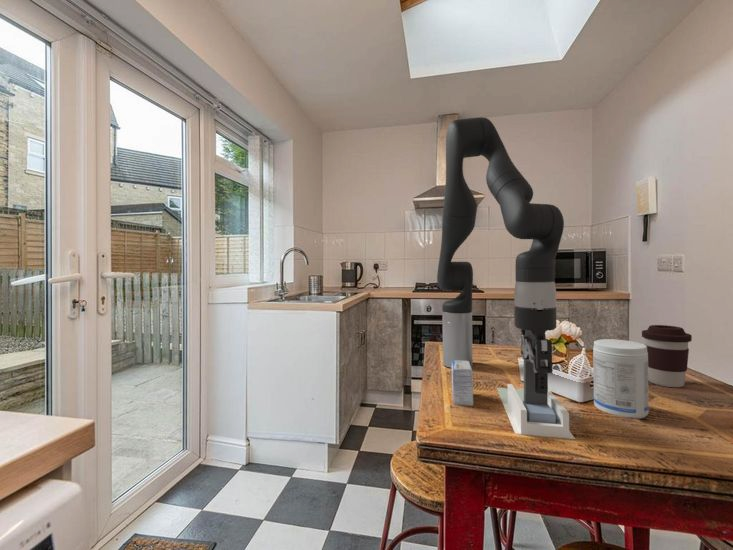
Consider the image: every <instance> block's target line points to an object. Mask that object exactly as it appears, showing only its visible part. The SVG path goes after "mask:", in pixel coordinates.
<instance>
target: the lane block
mask: <svg viewBox="0 0 733 550" xmlns="http://www.w3.org/2000/svg"><path fill="white" fill-rule="evenodd" d="M540 366H544V363H542V362H540ZM523 389H524V401H523V404H524V406H525V408H526V410H527V422H539V423H551V424H556V418H555V413H554V412H553V411H552V409H551V408H550V406H549V405H548V399H547V393H546V394H540V393H536V392H535V391H534V371H533V363H532V362H530V360H529V359H524V360H523Z"/></svg>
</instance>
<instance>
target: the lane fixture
mask: <svg viewBox="0 0 733 550" xmlns="http://www.w3.org/2000/svg"><path fill="white" fill-rule="evenodd" d="M496 390H497V393H498V395H499V398H500V400H501V402H502V405H503V407H504V410H505V413H506V414H507V417H508V419H509V422H510V425H511V427H512V429H513V432H514V434H515V435H524V436H525V435H526V436H535V437H544V438H545V437H547V438H548V437H549V438H558V439H568V440H576V437H575V436H574V435H573V434H572V433H571V431H570V413H569V411H568V410H567V409H566V408H565V406H563V404H562V403H561V402H560V401H559V399H558V398H557V397H556V396H555V395H554V394H553V393H552V391H551V390H550V389H549V388H548V393H547V399H548V405H549V406H550V408H551V409H552V411H553V412H554V413H555V418H556V424H551V423H539V422H527V410H526V408H525V406H524V404H523V401H524V388H523V389H522V388H515V386H514V385H513V384H512V383H507V388H506V387H505V388H504V387H496Z"/></svg>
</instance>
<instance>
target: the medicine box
mask: <svg viewBox="0 0 733 550" xmlns="http://www.w3.org/2000/svg"><path fill="white" fill-rule="evenodd" d="M450 369H451V395H452V401H453V402H452V403H453V405H455V406H456V405H457V406H474V382H473V380H474V377H473V375H474V374H473V373H474V372H473V369H472V367H471V365H470V362H469V361H460V360H456V361H452V363H451V368H450Z"/></svg>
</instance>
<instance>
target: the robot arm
mask: <svg viewBox="0 0 733 550" xmlns="http://www.w3.org/2000/svg"><path fill="white" fill-rule="evenodd" d="M445 137H446V138H445V185H444V199H443V209H442V219H441V220H442V223H441V242H440V243H441V244H440V251H439V252H440V253H439V258H438V266H437V273H436V274H437V275H436V279H437V281H436V282H437V286H438V288H439V289H440V290H441V291H460V293H459V294H458V295H457V296H456V297H454V298H452V299H449V300H446V301H444V302H443V303H442V310H441V311H442V313H441V314H442V319H441V320H442V364H443V366H444V367H448V368H450V369H451V363H452V361H456V360H460V361H469V362H470V365H471V368H472V367H473V366H474V365H473V285H474V268H473V266H472V263H471V262H469V261H452V260H453V258H454V255H455V253H456V252H457V250H458V249H459V248H460V247H461V246H462V245H463V243H465V241H466V240H467V239H468V237H469V236H470V235H471V234H472V232H473V231H474V229H475V225H476V219H477V210H478V203H477V201H476V198H475V196H474V194H473V192H472V190H471V189H470V187H469V185H468V183H467V181H466V179H465V176H464V159H466V158H472V157H473V158H474V157H480V156H481V157H484V158H485V159H486V160H487V161H488V166H487V170H486V175H485V178H486V179H485V181H486V185H487V188H488V190H489V192H490V193H491V194H492V196H493V197H494V199H495V201H496V202H497V204H498V205H499V207H500V212H501V215H502V219H503V223H504V227H505V229H506V231H507V232H508V234H510V235H511V236H512V237H514V238H516V239H518V240H532V242H531V246H530V248H529V250H527V251H523V252H520V253H519V254H518V255H516V258H515V266H514V267H515V284H514V293H513V294H514V295H513V296H514V297H513V298H514V304H513V305H514V308H513V309H514V310H513V311H514V326H515V327H516V328H517V329H520V332H521V333H520V334H521V337H520V338H521V339H520V340H521V341H520V345H521V346H520V347H521V349H520V353H521V356H522V359H523V361H524V359H529V360H530V362H532V363H533V371H534V391H535V392H536V393H540V394H546V393H548V389H549V388H548V387H549V384H548V383H549V382H548V381H549V379H548V378H549V377H548V376H549V374H553V370H554V369H553V347H552V346H553V342H552V340H551V339H548V338H546V337H547V336H546V332H547V331H549V332H550V331H554V330H555V329H556V328H557V289H556V282H555V281H556V279H555V278H556V277H555V274H556V273H555V272H556V269H555V268H556V267H555V265H556V264H555V260H556V257H557V254H558V251H559V247H560V245H561V241H562V237H563V233H564V226H565V220H564V216H563V214H562V212H561V211H562V210H561V209H560V208H558V207H557V206H556V205H553V204H549V203H548V204H547V203H535V202H534V203H531V201H532V200H533V197H534V191H533V188H532V186H531V185H530V182H528V180H527V179H526V178H525V177H524V175H523V174H522V173H521V172H520V170H519V169H518V168H517V167H516V165H515V164H514V162H513V161H512V159H511V158H510V155H509V153H508V152H507V149H506V146H505V145H504V142H503V140H502V138H501V137H500V135H499V133H498V130H497V129H496V126H495V125H494V123H493V122H492V121H491V119H489V118H487V117H483V116H481V117H470V118H469V117H468V118H460V119H454V120H452V121H451V122H450V123H449V125H448V127H447V130H446V136H445ZM540 362H542V363H544V366H540Z"/></svg>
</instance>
